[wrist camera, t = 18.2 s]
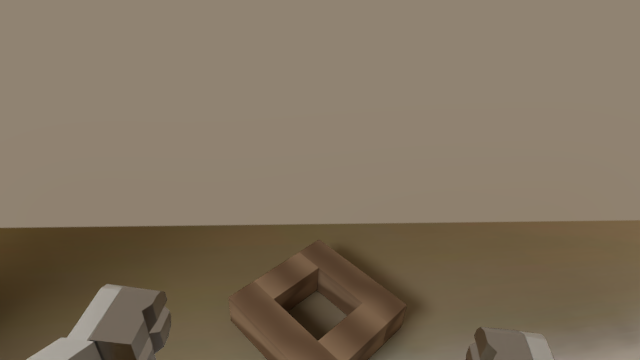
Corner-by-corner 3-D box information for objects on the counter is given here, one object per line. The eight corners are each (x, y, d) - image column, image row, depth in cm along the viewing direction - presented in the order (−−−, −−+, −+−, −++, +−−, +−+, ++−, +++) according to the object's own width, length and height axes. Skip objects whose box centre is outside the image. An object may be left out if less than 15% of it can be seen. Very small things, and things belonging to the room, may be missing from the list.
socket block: (315, 411, 40) (317, 389, 38) (230, 319, 48) (228, 297, 46) (401, 326, 48) (407, 304, 46) (317, 261, 56) (319, 239, 54)
